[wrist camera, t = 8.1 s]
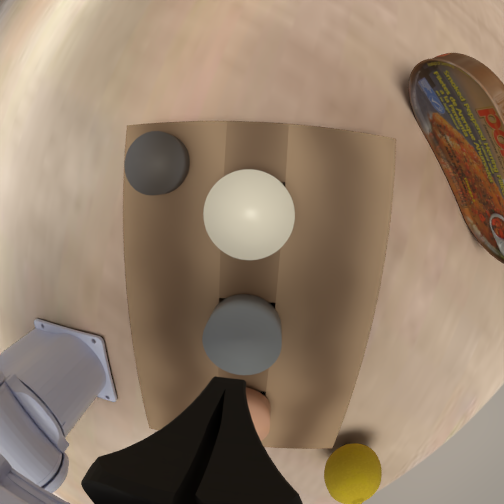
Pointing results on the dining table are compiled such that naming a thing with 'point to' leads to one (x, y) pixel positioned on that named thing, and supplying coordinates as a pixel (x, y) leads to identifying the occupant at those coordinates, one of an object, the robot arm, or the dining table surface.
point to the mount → (256, 264)
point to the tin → (466, 137)
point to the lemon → (352, 473)
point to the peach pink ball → (259, 411)
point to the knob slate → (243, 335)
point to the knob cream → (249, 214)
